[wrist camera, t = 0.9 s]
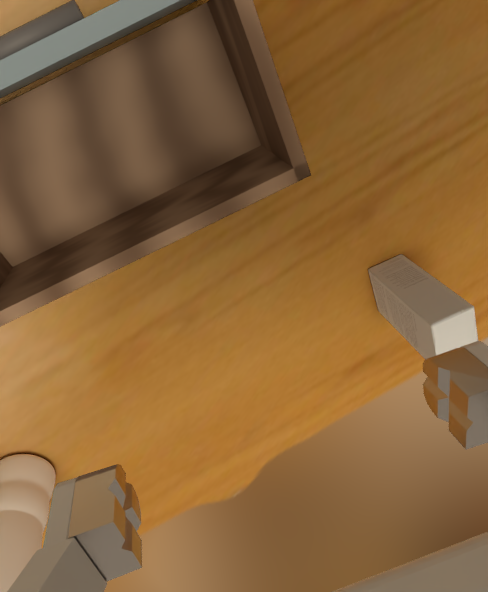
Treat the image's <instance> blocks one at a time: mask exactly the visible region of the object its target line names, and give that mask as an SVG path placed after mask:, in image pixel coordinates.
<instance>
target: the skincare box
mask: <svg viewBox="0 0 488 592" xmlns="http://www.w3.org/2000/svg"><path fill="white" fill-rule="evenodd" d="M368 272H369V276H370V280H371V284H372V287H373V291H374V295H375V299H376V303H377V307H378V311H379V312H380V313H381V314H382V315H383V316H384V317H385V318H386V319H387V320H388V321H389V322H390V323H391V324H392V325H393V326H394V327H395V328H396V330H398V332H399V333H400V334H401V335H402V336H403V337H404V338H405V339H406V340H407V341H408V342H409V343H410V344H411V345H412V346H413V347H414V348H415V349H416V350H417V351H418V352H419V353H420V354H421V355H422V356H423V357H424V358H425V359H427V358H430V357H433V356H436V355H439V354H442V353H444V352H447V351H450V350H453V349H456V348H460V347H461V346H464V345H467V344H470V343H473V342H476V341H478V335H477V328H476V320H475V311H474V306H473V305H471V304H470V303H468V302H467V301H466V300H464V299H463V298H461V297H460V296H459V295H457V294H456V293H455V292H453V291H452V290H450V289H449V288H448V287H446V286H445V285H444V284H442V283H441V282H440V281H438V280H437V279H435V278H434V277H433V276H431V275H430V274H429V273H427V272H426V271H424V270H423V269H422V268H420V267H419V266H418V265H416V264H415V263H414V262H412V261H411V260H409V259H408V258H407V257H405V256H404V255H398V256H396V257H394V258H392V259H389V260H387V261H385V262H383V263H380V264H378V265H376V266H374V267H371V268H369V269H368Z"/></svg>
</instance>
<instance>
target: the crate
mask: <svg viewBox="0 0 488 592" xmlns="http://www.w3.org/2000/svg"><path fill="white" fill-rule="evenodd" d="M310 175H311V173H310V170H309V167H308V164H307V161H306V158H305V155H304V152H303V149H302V146H301V143H300V140H299V137H298V134H297V131H296V128H295V126H294V123H293V120H292V117H291V114H290V111H289V108H288V105H287V102H286V99H285V96H284V93H283V90H282V87H281V84H280V81H279V78H278V75H277V72H276V69H275V66H274V63H273V60H272V57H271V54H270V51H269V48H268V45H267V42H266V39H265V36H264V33H263V30H262V27H261V24H260V21H259V18H258V15H257V12H256V9H255V6H254V3H253V0H209V1H208V2H207V3H205V4H203V5H201V6H199V7H197V8H195V9H193V10H191V11H189V12H187V13H185V14H183V15H181V16H179V17H177V18H175V19H173V20H171V21H169V22H167V23H165V24H163V25H161V26H159V27H157V28H155V29H153V30H151V31H149V32H147V33H145V34H143V35H141V36H139V37H137V38H135V39H133V40H131V41H129V42H127V43H125V44H123V45H121V46H119V47H117V48H115V49H113V50H111V51H109V52H107V53H105V54H103V55H101V56H99V57H97V58H95V59H93V60H91V61H89V62H87V63H85V64H83V65H81V66H79V67H77V68H75V69H73V70H71V71H69V72H67V73H65V74H63V75H61V76H59V77H57V78H55V79H53V80H51V81H49V82H47V83H45V84H43V85H41V86H39V87H37V88H35V89H33V90H31V91H29V92H27V93H25V94H23V95H21V96H19V97H17V98H15V99H13V100H11V101H9V102H6V103H4V104H2V105H0V326H3V325H5V324H7V323H9V322H11V321H13V320H15V319H17V318H19V317H21V316H23V315H25V314H27V313H29V312H31V311H33V310H35V309H37V308H39V307H42V306H44V305H46V304H48V303H50V302H52V301H54V300H56V299H58V298H60V297H62V296H64V295H66V294H68V293H70V292H72V291H74V290H76V289H78V288H81V287H83V286H85V285H87V284H89V283H91V282H93V281H95V280H97V279H99V278H101V277H103V276H105V275H107V274H109V273H111V272H113V271H115V270H117V269H120V268H122V267H124V266H126V265H128V264H130V263H132V262H134V261H136V260H138V259H140V258H142V257H144V256H146V255H148V254H150V253H152V252H154V251H156V250H159V249H161V248H163V247H165V246H167V245H169V244H171V243H173V242H175V241H177V240H179V239H181V238H183V237H185V236H187V235H189V234H191V233H193V232H195V231H197V230H200V229H202V228H204V227H206V226H208V225H210V224H212V223H214V222H216V221H218V220H220V219H222V218H224V217H226V216H228V215H230V214H232V213H234V212H236V211H239V210H241V209H243V208H245V207H247V206H249V205H251V204H253V203H255V202H257V201H259V200H261V199H263V198H265V197H267V196H269V195H271V194H273V193H275V192H278V191H280V190H282V189H284V188H286V187H288V186H290V185H292V184H294V183H296V182H298V181H300V180H302V179H304V178H306V177H308V176H310Z"/></svg>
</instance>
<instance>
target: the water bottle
mask: <svg viewBox="0 0 488 592" xmlns="http://www.w3.org/2000/svg"><path fill="white" fill-rule="evenodd" d="M55 478H56V474H55V470H54V468H53V466H52V465H51V464H50V463H49V462H48V461H46V460H45V459H43V458H41V457H39V456H35V455H31V454H17V455H12V456H8V457H6V458H4V459H2V460H0V592H7V591H8V590H9V588H10V587H11V586H12V584H13V583H14V581H15V580H16V579H17V577H18V576H19V575H20V573H21V572H22V570H23V569H24V568H25V566H26V565H27V563H28V562H29V561H30V559H31V558H32V556H33V555H34V554H35V552H36V551H37V550H39V549H41V545H42V534H43V531H44V529H45V526H46V523H47V519H48V514H49V502H50V499H51V496H52V493H53V489H54V485H55Z"/></svg>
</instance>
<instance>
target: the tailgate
mask: <svg viewBox="0 0 488 592" xmlns="http://www.w3.org/2000/svg"><path fill="white" fill-rule="evenodd" d="M194 1H196V0H120V1H118V2H116V3H114V4H112V5H110V6H108V7H106V8H104V9H102V10H100V11H98V12H96V13H94V14H92V15H90V16H88V17H86V18H84V17H83V15H82V13H81V11H80V9H79V7H78V5H77V4H76V2H75V0H72V1H70V2H68V3H66V4H64V5H62V6H60V7H58V8H56V9H54V10H52V11H50V12H48V13H46V14H44V15H42V16H40V17H38V18H36V19H34V20H32V21H30V22H28V23H26V24H24V25H22V26H20V27H18V28H16V29H14V30H12V31H10V32H8V33H6V34H4V35H2V36H0V98H2V97H4V96H6V95H8V94H10V93H12V92H14V91H16V90H18V89H20V88H22V87H24V86H26V85H28V84H30V83H32V82H34V81H36V80H38V79H40V78H42V77H44V76H46V75H48V74H50V73H52V72H54V71H56V70H58V69H60V68H62V67H64V66H66V65H68V64H70V63H72V62H74V61H76V60H78V59H80V58H82V57H84V56H86V55H88V54H90V53H92V52H94V51H96V50H98V49H100V48H102V47H104V46H106V45H108V44H110V43H112V42H114V41H116V40H118V39H120V38H122V37H124V36H126V35H128V34H130V33H132V32H134V31H136V30H138V29H140V28H142V27H144V26H146V25H148V24H150V23H152V22H154V21H156V20H158V19H160V18H162V17H164V16H166V15H168V14H170V13H172V12H174V11H176V10H178V9H180V8H182V7H184V6H186V5H188V4H190V3H192V2H194Z"/></svg>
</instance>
